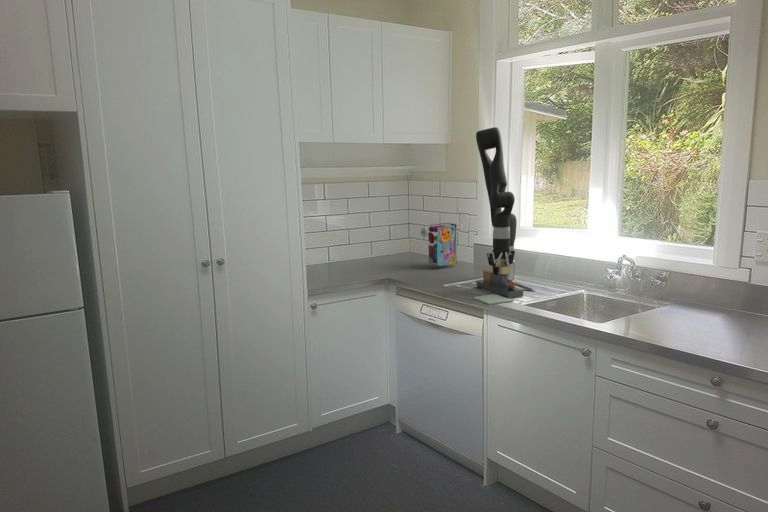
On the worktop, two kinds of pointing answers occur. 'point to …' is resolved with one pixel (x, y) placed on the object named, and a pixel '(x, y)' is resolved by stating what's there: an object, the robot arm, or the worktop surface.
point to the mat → (493, 299)
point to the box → (441, 244)
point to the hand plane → (499, 285)
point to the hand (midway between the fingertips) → (500, 274)
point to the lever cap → (502, 268)
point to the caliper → (523, 286)
